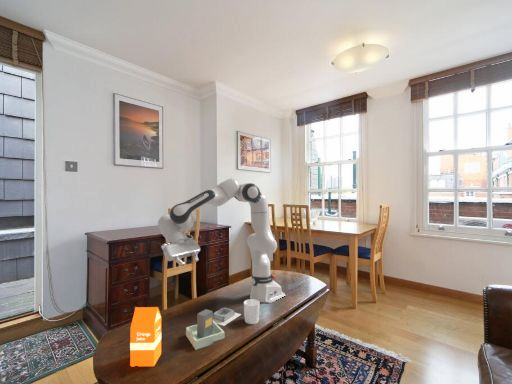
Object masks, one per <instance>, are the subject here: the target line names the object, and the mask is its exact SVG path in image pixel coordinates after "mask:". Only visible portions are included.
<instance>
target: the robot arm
mask: <svg viewBox="0 0 512 384" xmlns="http://www.w3.org/2000/svg"><path fill="white" fill-rule="evenodd" d="M233 198H235V199H236V200H237V201H239V202H243V203H248V204H249V206H250V222H251V227H252V228H253V232H254V233H251V234H249V235H248V236H247V239H246V244H247V246H248V249H249V251H250V257H251V262H252V263H251V266H252V270H251V271H252V272H251V273H252V274H251V290H250V296H249V299H255V300H258V301H259V302H260V303H266V304H272V303H275V302H276V300H277V301H279V300H281V299H283V298H282V297H284V296H286V293H285V292H283V291H282V286H281V285H280V284H279V283H277V281H275V279H276V277H277V275H276V274H275V275H274V274H271V261H270V259H269V256H268V255H273V254H274V253H275V252H276V250H277V248H278V243H277V241H276V239H275V238H274V235H273V232H272V228H271V225H270V215H269V214H270V213H269V212H270V211H269V204H268V199H267V196H266V195H264V194H262V193H261V190H260V188H259V187H258V185H257V184H255V183H250V182H248V183H239V182H238V181H237V180H236V179H235V178H228V179H226V180H224V181H222V182H219V184H217V185H216V186H214V187H212V188H210V189H206V190H204V191H203V192H200V193H199V194H197V195H195V196H193V197H191V198H190V199H188V200H186V201H183V202H180V203H177V204H175V205H173V206H172V207H171V209H170V211H169V214H163V215H162V216H161V217H160V218H159V219H158V222H157V226H158V230H159V231H160V233H161V235H162V236H163V237H164V238H165V241H166V243H163V244H162V245H161V246H160V248H161V251H163V252H162V253H163V255H164V257H165V260H166V261H168V262H172V261H174V262H175V263H177V264H178V266H179V267H183V266H185V262H184V261H183V260H181V259H183V258H187V257H191V256H193V257H194V259H193V261H194V263H196V262H198V261H200V259H199V257H198V254H199V253H200V252H201V246H200V245H199V243H198V242H197V241H196V240H195V239H194V236H193V235H192V234H187V233H185V232H187V231H190V230H191V229H192V228H193V227H194V226H195V219H194V217H193V212H194V211H196V210H197V209H199V208H202V207H203V206H205V205H207V204H210V205H212V206H214V207H220V206H223V205H225V204H226V203H228V202H229V201H230V200H232V199H233ZM286 297H287V296H286ZM280 298H281V299H280ZM284 298H285V297H284ZM278 299H279V300H278Z"/></svg>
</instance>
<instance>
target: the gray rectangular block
mask: <svg viewBox="0 0 512 384" xmlns="http://www.w3.org/2000/svg"><path fill="white" fill-rule="evenodd" d="M213 313H214V312H213V310H210V309H206V308H205V309H203V310H201V311H200V312H198V313H197V315H196V316H197V317H196V325H197V337H199V338H204V337H207V336H210V335H212V334H213Z"/></svg>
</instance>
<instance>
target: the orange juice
mask: <svg viewBox="0 0 512 384" xmlns="http://www.w3.org/2000/svg"><path fill="white" fill-rule="evenodd" d="M129 338H130V339H129V340H130V341H129V348H130V349H129V350H130V354H129V355H130V357H129V358H130V361H129V363H130V364H129V366H131V367H135V366H138V367H155V365H156V364H157V362H158V360H159V358H160V357H161V355H162V315H161V312H160V309H159V306H151V307H150V306H148V307H147V306H146V307H144V306H142V307H141V306H140V307H138V306H137V307H136V306H135V307H134V313H133V317H132V320H131V324H130V336H129ZM131 367H130V368H131ZM135 368H136V367H135Z"/></svg>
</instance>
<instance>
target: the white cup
mask: <svg viewBox="0 0 512 384" xmlns="http://www.w3.org/2000/svg"><path fill="white" fill-rule="evenodd" d="M260 303H261V302H259V301H258V300H255V299H250V298H249V299H246V300H244V301H243V312H244V315H243V316H244V322H245V323H246V324H249V325H255V324H257V323H259V319H260V307H261V306H260Z"/></svg>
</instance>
